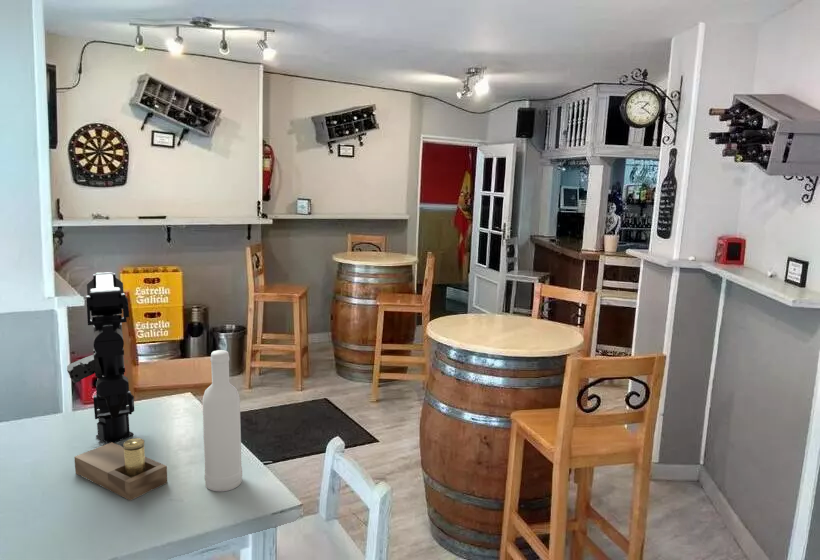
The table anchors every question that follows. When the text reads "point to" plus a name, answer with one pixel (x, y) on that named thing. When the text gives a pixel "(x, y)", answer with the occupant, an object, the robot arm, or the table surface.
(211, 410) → the bottle
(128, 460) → the disc
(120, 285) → the robot arm
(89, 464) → the jig
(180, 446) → the table surface
